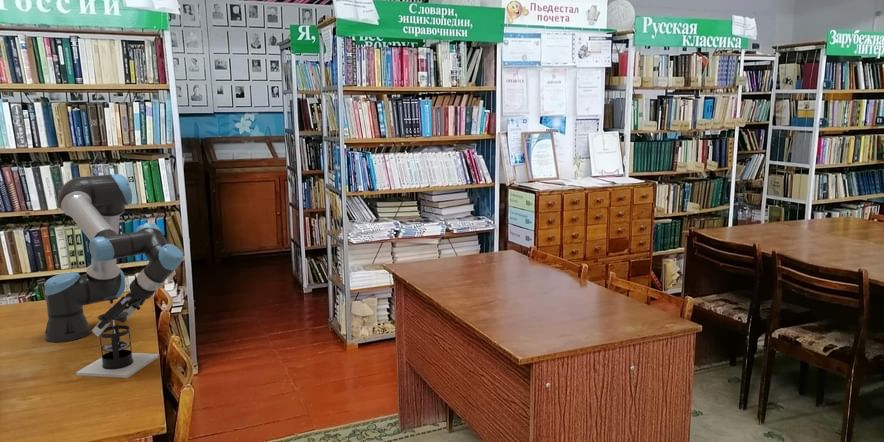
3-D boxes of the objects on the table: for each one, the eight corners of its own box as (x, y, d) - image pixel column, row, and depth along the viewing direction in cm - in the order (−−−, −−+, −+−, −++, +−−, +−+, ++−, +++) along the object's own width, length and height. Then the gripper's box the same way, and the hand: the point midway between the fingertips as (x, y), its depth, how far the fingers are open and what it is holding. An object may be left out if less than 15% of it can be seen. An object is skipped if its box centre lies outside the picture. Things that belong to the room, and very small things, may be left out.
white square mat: (111, 354, 230) (111, 351, 229) (159, 356, 227) (158, 353, 227) (76, 375, 212) (75, 372, 212) (127, 377, 209) (127, 374, 209)
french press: (133, 367, 215) (126, 299, 211) (101, 372, 212) (93, 303, 208) (133, 355, 226) (127, 290, 222) (103, 359, 222) (96, 294, 218)
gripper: (131, 303, 201) (92, 347, 205) (175, 281, 225) (139, 322, 230) (114, 285, 200) (74, 331, 205) (159, 266, 225) (123, 307, 229)
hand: (108, 326), depth 217 cm, fingers open, 13 cm apart
